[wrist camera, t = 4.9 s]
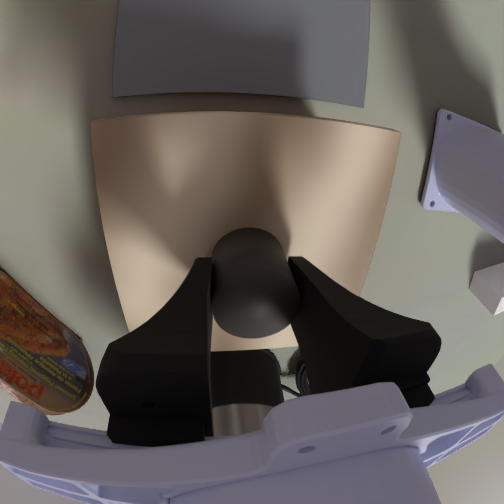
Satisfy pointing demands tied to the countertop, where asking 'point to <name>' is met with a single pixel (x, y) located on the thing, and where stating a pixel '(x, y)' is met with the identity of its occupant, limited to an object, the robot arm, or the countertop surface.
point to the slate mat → (243, 48)
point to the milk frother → (247, 389)
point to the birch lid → (239, 210)
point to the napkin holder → (489, 287)
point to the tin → (40, 355)
